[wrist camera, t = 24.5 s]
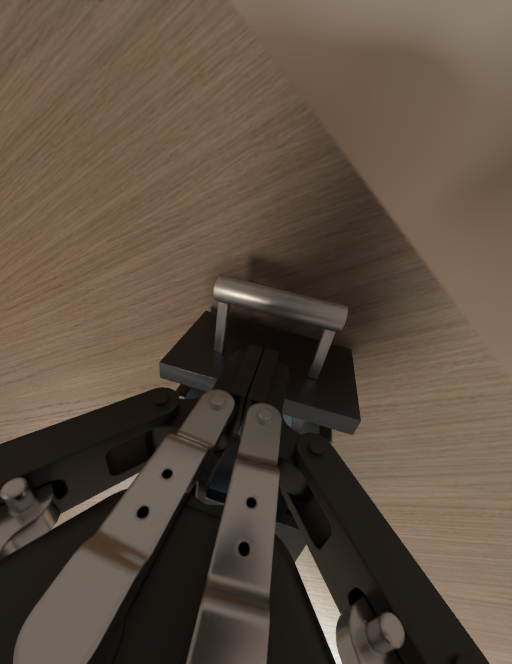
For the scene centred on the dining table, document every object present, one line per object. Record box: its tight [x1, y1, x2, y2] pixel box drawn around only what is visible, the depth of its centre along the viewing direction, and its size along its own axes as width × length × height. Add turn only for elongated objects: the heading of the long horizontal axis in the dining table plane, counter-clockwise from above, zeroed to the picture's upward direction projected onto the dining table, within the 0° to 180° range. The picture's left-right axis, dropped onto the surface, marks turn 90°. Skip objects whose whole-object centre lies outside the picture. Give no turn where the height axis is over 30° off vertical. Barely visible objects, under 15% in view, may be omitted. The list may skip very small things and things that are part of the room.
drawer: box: [159, 275, 361, 516], centre depth 20 cm, size 18×11×7 cm, turn 171°
